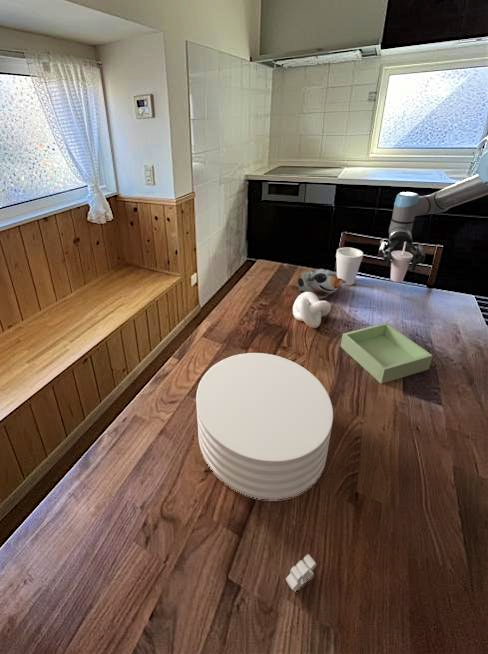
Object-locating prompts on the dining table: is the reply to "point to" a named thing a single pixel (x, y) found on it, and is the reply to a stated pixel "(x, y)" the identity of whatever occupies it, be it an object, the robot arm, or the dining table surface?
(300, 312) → the white puffy blob
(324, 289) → the grey animal head
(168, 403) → the dining table surface
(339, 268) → the foam cup
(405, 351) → the bin
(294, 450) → the plate stack
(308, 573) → the white stepped block
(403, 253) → the smoothie
